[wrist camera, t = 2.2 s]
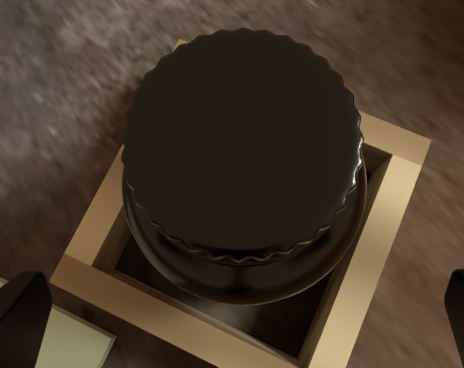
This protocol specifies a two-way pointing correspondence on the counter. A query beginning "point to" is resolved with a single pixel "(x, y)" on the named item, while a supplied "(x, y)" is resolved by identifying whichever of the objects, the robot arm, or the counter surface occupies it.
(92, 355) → the sage board
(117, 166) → the birch collar
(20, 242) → the counter surface
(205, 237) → the supplement bottle
